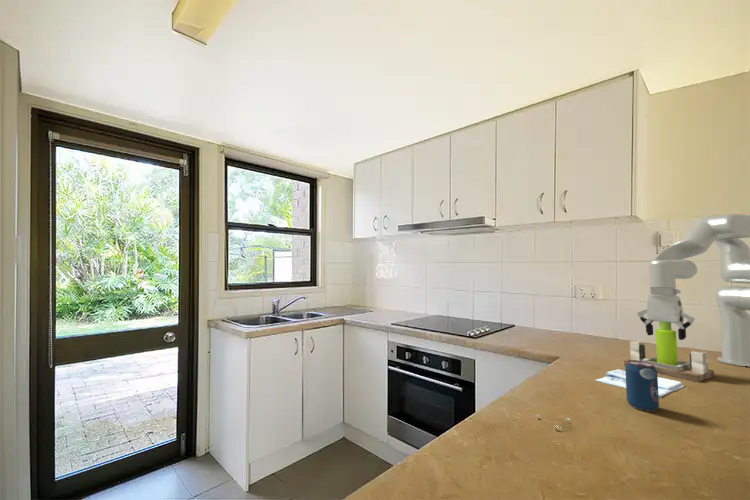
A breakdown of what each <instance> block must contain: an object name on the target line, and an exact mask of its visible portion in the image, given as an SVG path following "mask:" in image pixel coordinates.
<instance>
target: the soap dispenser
mask: <svg viewBox="0 0 750 500" xmlns="http://www.w3.org/2000/svg"><path fill="white" fill-rule="evenodd" d="M658 323H659V328H658V329H655V344H656V345H655V346H656V348H655V349H656V356H657V362H658V363H663V364H668V365H673V366H677V365H678V361H677V360H678V345H677V331H676V330H673V329H672V323H669V322H663V321H661V322H659V321H658Z"/></svg>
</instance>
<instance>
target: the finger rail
mask: <svg viewBox="0 0 750 500" xmlns="http://www.w3.org/2000/svg"><path fill="white" fill-rule="evenodd" d="M629 350H630V351H629V353H630V354H629V355H630V359H626V360H623V361H624V362H623V365H624V367H626V365H627V364H628V361H629V360H637V361H644V362H649V363H652V364H654V367H655V369H656V370H657V374H660V375H664V376H668V377H674V378H678V379H681V380H687V381H692V382H696V383H698V382H702V381H705V380H707V379H710V378H713V377H715V371H714V370H713V369H709V364H708V352H707V351H700V350H691V351H690V353H689V361H684V360H683V361H682V360H679V359H677V361H678V365H677V366H673V365H668V364H663V363H658V362H657V355H656V356H652V357H646V345H645V344H644V341H638V340H632V341H629Z"/></svg>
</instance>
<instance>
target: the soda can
mask: <svg viewBox="0 0 750 500" xmlns="http://www.w3.org/2000/svg"><path fill="white" fill-rule="evenodd" d="M628 360H629V359H628ZM624 367H625V370H624V371H626V390H625V393H626V401H627V403H628V404H629V406H630V405H631V406H632V407H631V406H630V407H631V408H633V407H635V408H638V409H641V410H640V411H642V410H648V411H647V412H649V411H653V412H656V411H655V410H657V409H658V408H659V407H660V402H659V401H660V398H659V396H658V373H657V370H656V369H655V367H654V364H652V363H649V362H644V361H637V360H629V361H628V364H627V365H626V366H624ZM635 408H634V409H635ZM638 409H637V410H638Z"/></svg>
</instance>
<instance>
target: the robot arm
mask: <svg viewBox="0 0 750 500" xmlns="http://www.w3.org/2000/svg"><path fill="white" fill-rule="evenodd" d="M743 238H744V239H747V238H750V215H749V214H748V215H747V214H737V213H736V214H735V213H734V214H733V213H729V214H721V215H713V216H706V217H702V218H700V219H698V220H696V221H695V222H694V224H693V225H692V226H691V228H690V229H689V230H688V232H686V234H685V235H684V237H683V238H682V239H681V240H679V241H677V242H675V243H673V244H671V245H670V246H667V247H666V248H664V249H662V250H660V251H659V252H658V253H657V255H656V256H655V257H654V258H653V260H651V261H649V264H648V269H649V270H648V272H649V274H648V275H649V289H650V290H649V291H650V293H649V295H648V298H647V303H646V309H644V310H642V311H641V310H640V311H639V312H637V316H638V318H639V320H640V321H641V322H642V323H644V325H645V332H646V334H647V336H653V335H654V325H653V324H652V323H653V322H658V323H659V322H661V321H663V322H669V323H671V324H675V325H677V327H679V328H678V329H677V332H678V340H679V341H684V340H685V339H686V338H687V330H686V329H688V327H690V326H692V324H693V323H694V321H695V319H696V318H695V317H694V316H691V315H690V314H687V313H685V312H684V309H683V305H682V300H681V297H680V296H679V295H678V294H681V292H682V290H681V289H677V283H676V282H677V281H676V280H688V279H692V278H693V277H695V276H696V275H697V272H698V266H697V265H696V264H695V262H693V261H691V260H689V258H693V257H696V256H699V255H702V254H703V253H706V252H707V251H708V250H709V248H710V247H711V246H712V244H713V243H714V242H715V244H716V245H717V247H718V248H719V251H720V277H721V279H722V280H723V281H724V282H727V283H733V284H750V247H749V246H748V244H747V243H746V242H745V241H743V240H742V239H743ZM714 298H715V301H716V304H717V308H718V312H719V319H720V335H721V354H722V356H717V359H716V360H717V361H719V363H724V364H728V365H731V366H732V365H733V366H739V367H745V366H748V367H747V368H750V314H749V312H747V311H750V286H739V285H738V286H737V285H734V286H733V285H728V286H722V287H720V288H718V289H716V291H715V297H714ZM644 315H646V317H647V318H646V317H645V316H644ZM685 319H686V322H685V323H684V320H685Z"/></svg>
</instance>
